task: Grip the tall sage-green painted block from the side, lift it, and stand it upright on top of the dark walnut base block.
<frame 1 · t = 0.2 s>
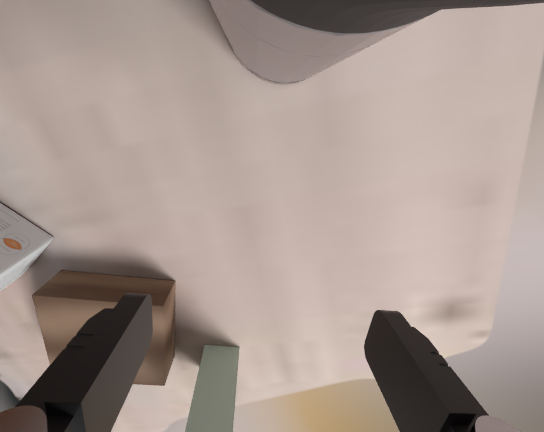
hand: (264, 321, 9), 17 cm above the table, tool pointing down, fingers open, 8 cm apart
walnut base block: (123, 316, 31), on the table
sage block: (220, 357, 35), on the table
small box: (3, 231, 26), on the table
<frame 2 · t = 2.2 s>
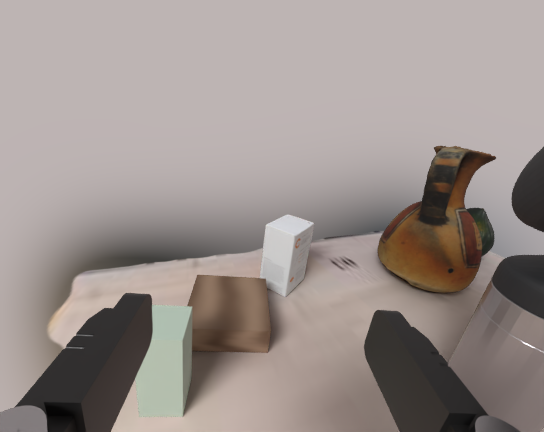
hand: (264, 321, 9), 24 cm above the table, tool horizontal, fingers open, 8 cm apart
ceramic pitcher: (416, 276, 61), on the table
walnut base block: (228, 319, 42), on the table
sage block: (167, 395, 30), on the table
squash: (453, 252, 77), on the table
small box: (281, 282, 53), on the table
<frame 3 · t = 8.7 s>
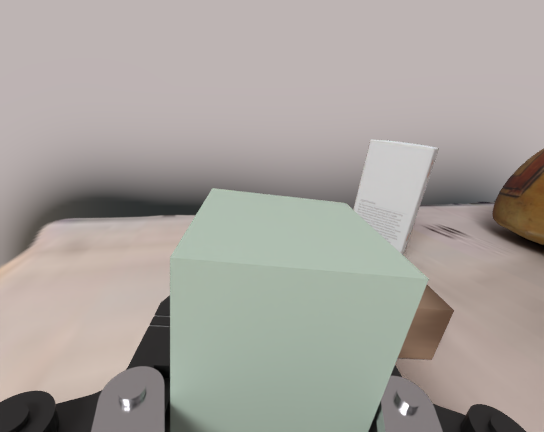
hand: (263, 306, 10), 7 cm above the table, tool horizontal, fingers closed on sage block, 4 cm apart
walnut base block: (321, 295, 22), on the table
small box: (375, 248, 33), on the table
when the fingers open (12 cm above the table, at t = 15.5 s): sage block drops 1 cm, resting on walnut base block.
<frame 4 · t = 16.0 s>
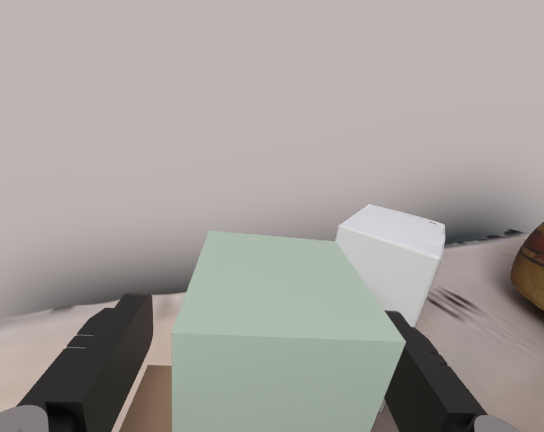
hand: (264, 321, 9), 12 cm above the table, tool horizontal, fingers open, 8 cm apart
small box: (354, 357, 23), on the table
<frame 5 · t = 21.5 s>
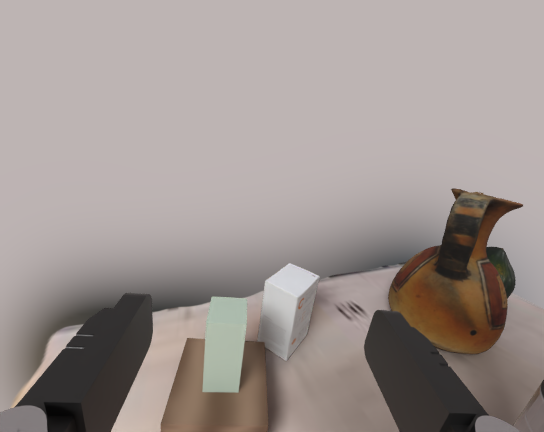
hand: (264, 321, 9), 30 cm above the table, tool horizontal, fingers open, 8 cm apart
ceramic pitcher: (431, 328, 56), on the table
walnut base block: (220, 396, 36), on the table
sage block: (222, 375, 35), point 4 cm above the table, touching walnut base block
squash: (469, 293, 71), on the table
small box: (282, 338, 48), on the table
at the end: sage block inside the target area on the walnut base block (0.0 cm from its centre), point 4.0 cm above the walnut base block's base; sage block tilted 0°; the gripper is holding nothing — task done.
